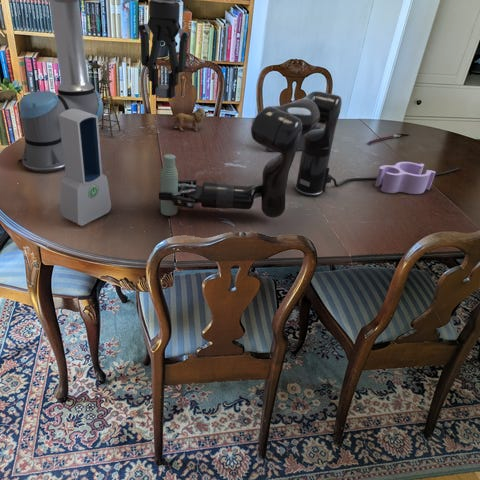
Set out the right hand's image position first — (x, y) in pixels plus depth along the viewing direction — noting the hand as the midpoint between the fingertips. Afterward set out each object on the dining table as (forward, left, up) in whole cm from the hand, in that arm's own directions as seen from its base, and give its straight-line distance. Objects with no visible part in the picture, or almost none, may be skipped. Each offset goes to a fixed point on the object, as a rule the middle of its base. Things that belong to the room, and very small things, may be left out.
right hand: (160, 191), depth 136 cm
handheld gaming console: (-66, -32, -7) cm, 74 cm away
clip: (-89, +9, -7) cm, 89 cm away
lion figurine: (-33, -64, -7) cm, 72 cm away
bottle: (-2, +1, -7) cm, 7 cm away
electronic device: (+21, -3, -7) cm, 22 cm away
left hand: (-3, -5, +26) cm, 27 cm away
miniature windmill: (+1, -67, -7) cm, 67 cm away
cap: (-3, -5, +28) cm, 29 cm away
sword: (-119, -32, -7) cm, 124 cm away
